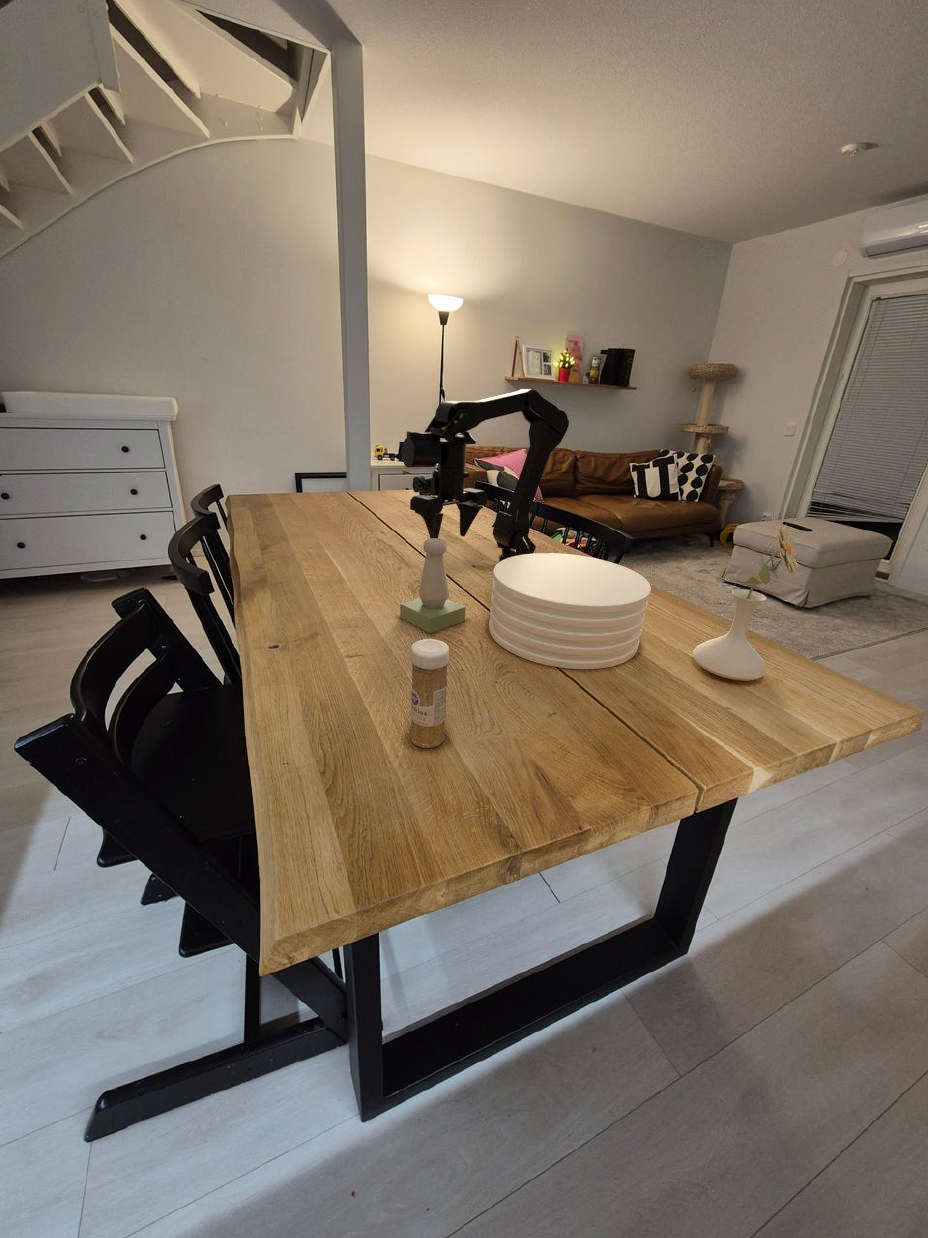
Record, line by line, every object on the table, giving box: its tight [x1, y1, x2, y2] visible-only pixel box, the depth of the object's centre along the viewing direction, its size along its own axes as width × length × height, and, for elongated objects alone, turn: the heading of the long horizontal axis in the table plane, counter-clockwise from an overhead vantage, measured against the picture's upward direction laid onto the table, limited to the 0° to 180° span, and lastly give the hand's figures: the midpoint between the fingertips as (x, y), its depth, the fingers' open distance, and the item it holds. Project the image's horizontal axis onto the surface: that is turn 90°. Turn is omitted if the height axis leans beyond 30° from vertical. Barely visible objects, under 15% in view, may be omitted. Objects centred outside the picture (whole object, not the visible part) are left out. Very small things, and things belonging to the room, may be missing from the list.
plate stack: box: [488, 552, 652, 670], centre depth 93 cm, size 28×28×12 cm
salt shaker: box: [418, 537, 450, 609], centre depth 95 cm, size 6×6×13 cm
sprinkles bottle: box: [409, 638, 450, 749], centre depth 62 cm, size 5×5×14 cm
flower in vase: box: [692, 523, 799, 681], centre depth 81 cm, size 13×11×25 cm
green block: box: [399, 597, 467, 634], centre depth 98 cm, size 9×9×3 cm
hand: (448, 539), depth 111 cm, fingers open, 9 cm apart
